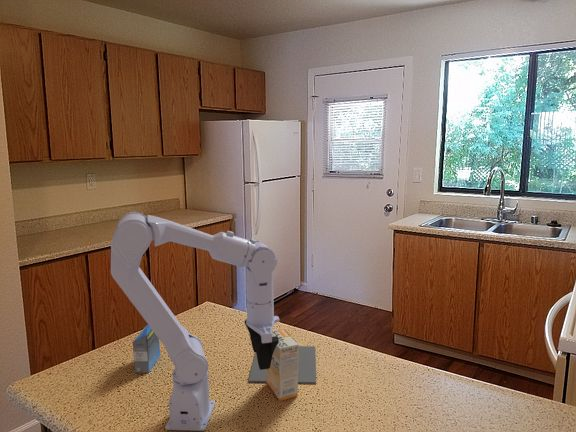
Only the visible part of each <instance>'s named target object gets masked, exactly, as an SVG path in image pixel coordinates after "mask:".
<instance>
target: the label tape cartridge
mask: <svg viewBox="0 0 576 432" xmlns="http://www.w3.org/2000/svg"><path fill="white" fill-rule="evenodd" d="M132 350H133V351H132V354H133V366H134V373H135V374H149V373H150V372H151V370H152V369H153V368H154V366H155V364H156V363H157V361H158V360H159V359H160V358H161V347H160V339H159V338H158V337H157V335H156V334H155V333H154V331H153V330H152V329H151V327H150V326H149V325H148V324H146V325H145V326H144V328H143V329H142V330H141V331H140V332H139V334H138V335H137V336H136V337H135V339H134V340H133V341H132Z"/></svg>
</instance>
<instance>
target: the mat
mask: <svg viewBox="0 0 576 432" xmlns="http://www.w3.org/2000/svg"><path fill="white" fill-rule="evenodd" d="M316 365H317V363H316V346H314V345H313V346H311V345H309V346H308V345H305V346H304V345H299V361H298V384H304V385H305V384H307V385H308V384H311V385H312V384H314V385H315V384H317V368H316V367H317V366H316ZM248 383H262V384H265V383H266V384H268V383H267V382H266V369H263V370H260V368H259V365H258V360H257V355H256V352H254V358H253V362H252V366H251V370H250V374H249V377H248Z"/></svg>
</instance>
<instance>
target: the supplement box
mask: <svg viewBox="0 0 576 432" xmlns="http://www.w3.org/2000/svg"><path fill="white" fill-rule="evenodd" d="M275 336H278V338H279V342H278V344H277V346H276V348H275V350H274V353H273V356H272V361H271V365H270V368H269V369H266V382H267V383H266V384H268V386H269V388H271V389H270V390H272V392H273V393H274V394H275V396H276V398H277V400H278V401H279V402H281V401H286V400H288V399H292V398H296V397H298V394H299V383H298V361H299V346H300V345H299V343H298V342H297V341H296V340H295V338H294V337H293V336H291V334H290V333H289V332H288V331H287V330H286V329H285V328H284V327H280V328H276V329H272V337H275Z"/></svg>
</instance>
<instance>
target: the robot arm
mask: <svg viewBox="0 0 576 432" xmlns="http://www.w3.org/2000/svg"><path fill="white" fill-rule="evenodd" d="M152 242H153V246H154V247H158V246H160V245H164V244H166V243H168V242H172V243H176V244H179V245H182V246H183V245H184V246H187V247H191V248H195V249H199V250H204V251H208V252H209V255H210V257H211V259H213V260H215V261H219V262H222V263H226V264H230V265H233V266H236V267H238V268H239V267H240V268H246V269H245V270H246V271H245V272H246V277H245V287H246V289H245V290H246V291H245V292H246V293H245V294H246V295H245V296H246V319H245V320H244V325H245V327H246V329H247V330H248V334H249V338H250V339H249V340H250V342H251V347H252V350H253V352H254V353H256V355H257V360H258V365H259V368H260V370H263V369H269V368H270V365H271V361H272V356H273V353H274V350H275V348H276V346H277V344H278V342H279V338H278V336H275V337H272V330H274V327H275V324H276V323H277V324H278V323H279V322H280V317H279V316H278V315H275V307H274V306H275V305H274V304H275V303H274V294H275V291H274V270H275V269H276V267H277V265H278V259H276V254H275V253H274V251H273V250H272V249H271V248H270V247H269V246H267V245H266V244H265V243H263V242H261V241H259V240H255V239H254V238H249V239H247V238H243V237H241V236H236V235H235V233H234V232H233V231H231V230H227V231H226V232H224V231H219V232H218V233H215V234H213V235H212V234H210V233H207V232H204V231H200V230H198V229H195V228H192V227H189V226H187V225H183V224H181V223H178V222H175V221H172V220H169V219H166V218H163V217H158V216H155V215H152V214H151V215H150V214H147V215H144V214H143V213H141V212H138V211H137V212H136V211H130V212H128V213H125V214H124V215H123V216H121V217H120V218H119V220H118V222H117V224H116V227H115V229H114V231H113V235H112V239H111V242H110V274H111V276H112V278H113V279H114V281H115V282H116V284H117V285H118V286H119V288H120V289H121V290H122V292H123V293H124V294H125V295H126V297H127V298H128V300H129V301H130V302H131V304H132V305H133V306H134V307H135V308H136V310H137V312H138V313H139V314H140V315H141V317H142V318H143V320H144V321H145V322H146V323H147V325H149V326H150V327H151V329H152V330H153V331H154V333H155V334H156V335H157V337H158V338H159V342H161V343H162V345H163V346H164V349H165V350H166V353H167V355H168V358H169V359H170V361H171V362H172V364H173V365H174V369H173V371H172V373H171V374H172V375H171V376H172V392H171V394H170V397H169V399H168V410H169V413H168V414H169V419H168V421H167V423H166V425H165V430H167V431H196V432H197V431H199V432H200V431H201V432H202V431H203V432H204V431H206V429H207V426H208V423H209V420H210V418H211V415H212V413H213V410H214V406H215V404H216V401H215V400H210V379H209V361H208V360H207V357H206V355H205V352H204V349H203V348H204V347H203V342H202V341H201V339H200V338H199V337H197V336H195V335H193V334H191V333H190V332H189V330H188V329H187V328H186V327H184V326H183V325H182V324H181V323H180V321H179V320H178V318H177V317H176V315H175V314H174V313H173V312H172V310H171V309H170V308H169V305H167V303H166V302H165V300H164V299H163V297H162V296H161V295H160V293H159V292H158V291H157V289H156V288H155V287H154V285H153V284H152V283H151V281H150V280H149V278H148V277H147V276H146V274H145V273H144V272H143V270H142V269H141V267H140V265H141V261H142V259H143V257H142V256H143V255H144V254H145V253H146V251H147V250H148V248H150V247H149V246H150V245H151V243H152Z"/></svg>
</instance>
